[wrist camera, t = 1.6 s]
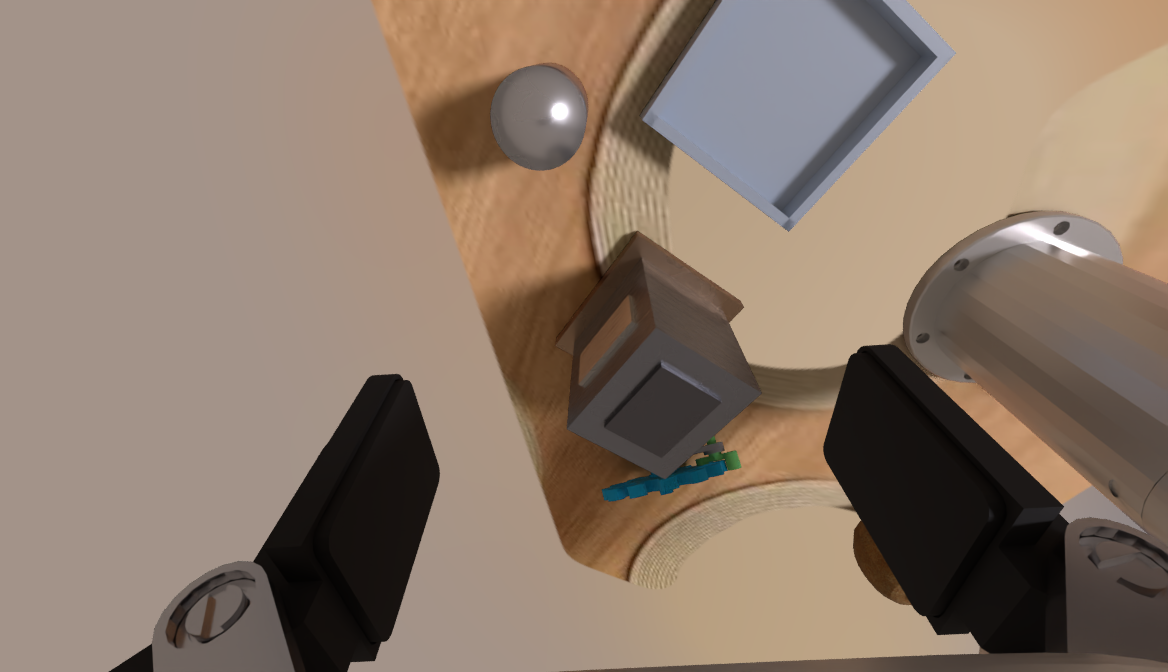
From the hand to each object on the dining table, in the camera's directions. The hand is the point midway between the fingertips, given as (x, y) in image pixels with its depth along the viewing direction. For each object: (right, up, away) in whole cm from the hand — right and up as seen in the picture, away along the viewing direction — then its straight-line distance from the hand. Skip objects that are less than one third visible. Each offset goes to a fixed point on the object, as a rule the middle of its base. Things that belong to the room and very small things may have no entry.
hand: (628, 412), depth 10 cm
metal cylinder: (-3, +15, +16) cm, 22 cm away
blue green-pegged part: (+6, -8, +30) cm, 32 cm away
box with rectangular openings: (+3, +3, +23) cm, 24 cm away
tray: (+10, +15, +15) cm, 24 cm away
